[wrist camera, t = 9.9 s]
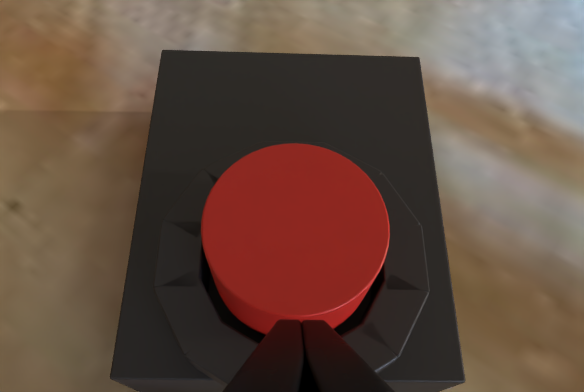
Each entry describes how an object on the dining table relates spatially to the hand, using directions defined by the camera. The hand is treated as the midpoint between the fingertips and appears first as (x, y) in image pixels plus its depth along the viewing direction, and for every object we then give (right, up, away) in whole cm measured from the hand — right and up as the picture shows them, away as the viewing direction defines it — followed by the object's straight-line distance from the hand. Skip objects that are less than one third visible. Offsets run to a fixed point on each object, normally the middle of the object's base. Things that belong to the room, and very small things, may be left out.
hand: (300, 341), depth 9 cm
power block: (0, +1, +11) cm, 11 cm away
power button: (0, +1, +5) cm, 5 cm away
